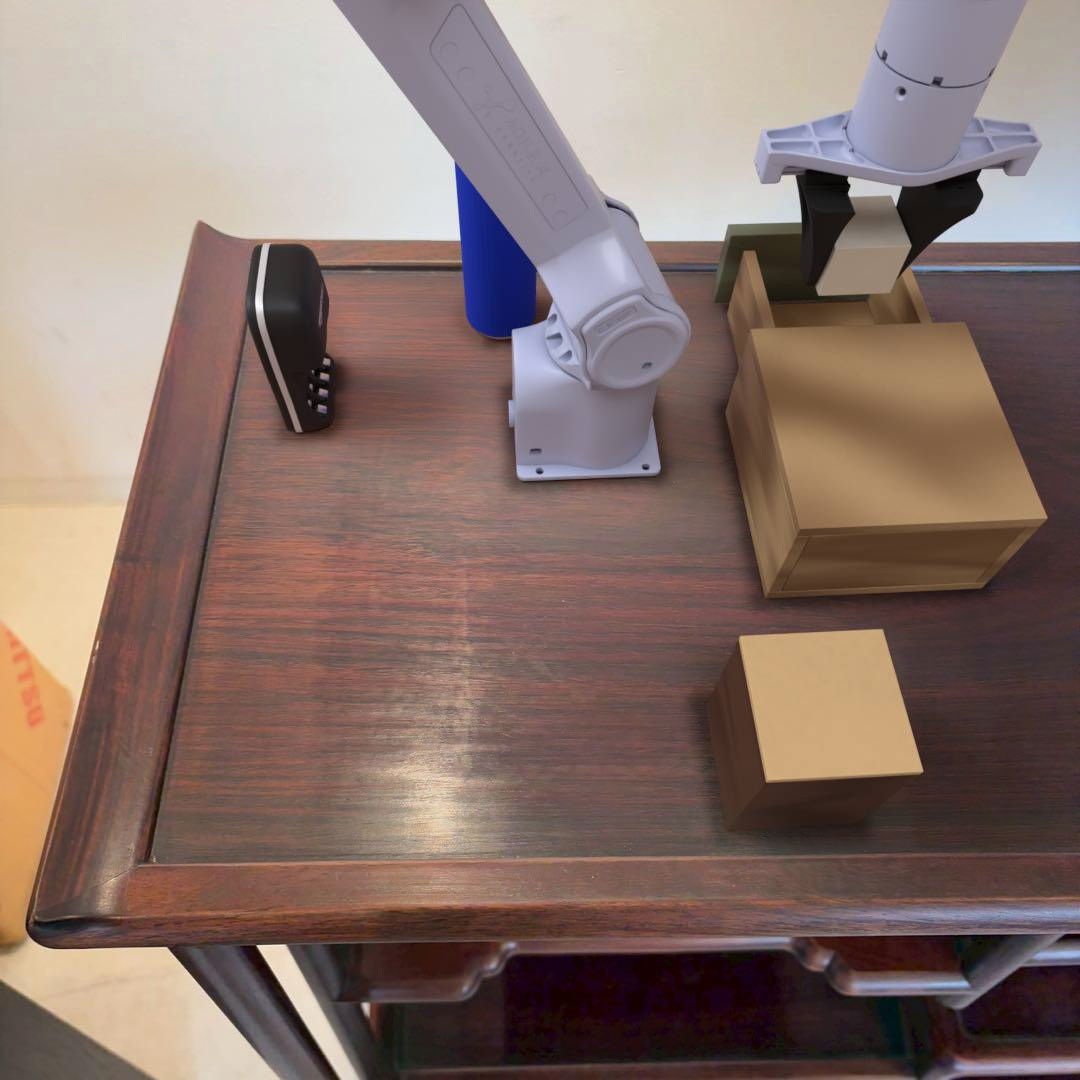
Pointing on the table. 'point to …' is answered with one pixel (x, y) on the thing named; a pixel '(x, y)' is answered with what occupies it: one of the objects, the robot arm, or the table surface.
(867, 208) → the block
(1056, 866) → the table surface
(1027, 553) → the table surface
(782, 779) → the coaster
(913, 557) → the cabinet
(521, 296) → the beverage can
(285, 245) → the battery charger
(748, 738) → the stand
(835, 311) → the drawer
